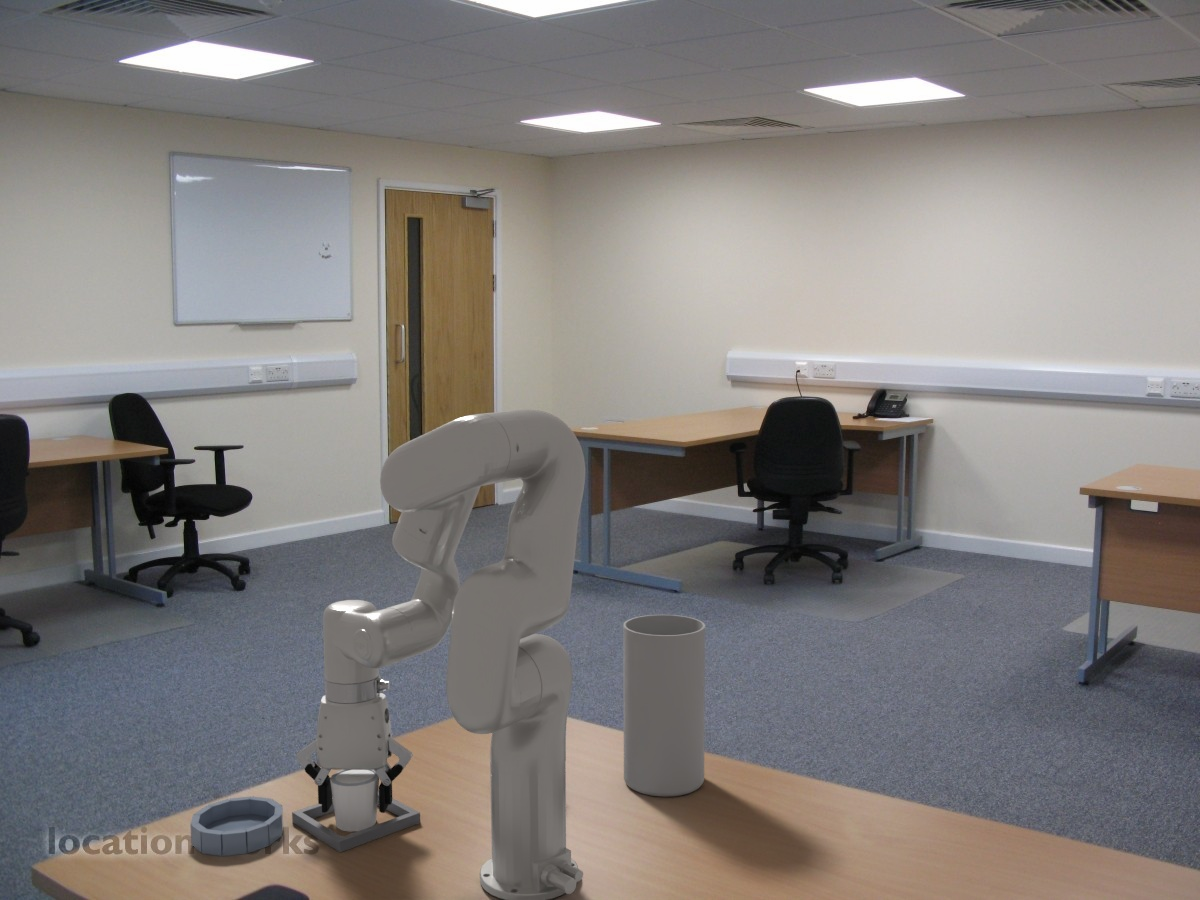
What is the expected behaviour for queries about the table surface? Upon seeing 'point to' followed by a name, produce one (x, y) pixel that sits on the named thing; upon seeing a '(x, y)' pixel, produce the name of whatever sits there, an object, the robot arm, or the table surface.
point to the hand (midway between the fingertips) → (355, 807)
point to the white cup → (355, 799)
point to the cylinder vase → (664, 704)
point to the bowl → (237, 826)
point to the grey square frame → (405, 820)
